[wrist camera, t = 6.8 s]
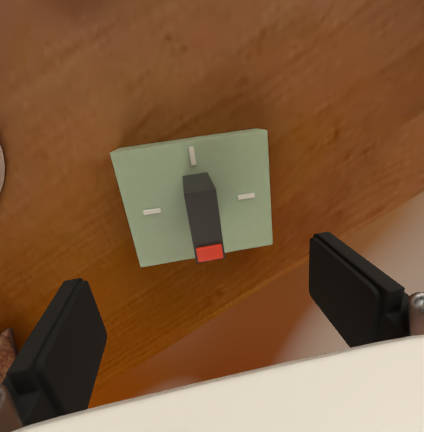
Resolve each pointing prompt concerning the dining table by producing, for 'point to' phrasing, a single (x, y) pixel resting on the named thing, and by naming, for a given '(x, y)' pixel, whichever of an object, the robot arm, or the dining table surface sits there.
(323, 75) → the dining table surface
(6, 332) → the stone
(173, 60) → the dining table surface
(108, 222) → the dining table surface
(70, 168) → the dining table surface
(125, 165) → the panel
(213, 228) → the knob
